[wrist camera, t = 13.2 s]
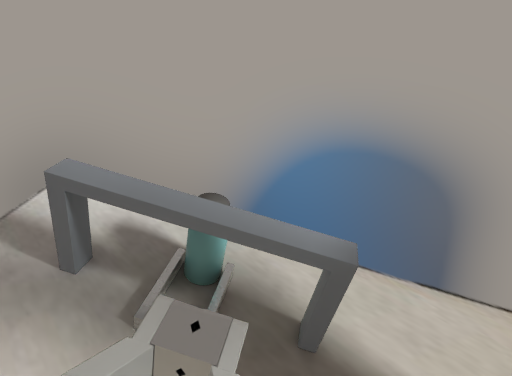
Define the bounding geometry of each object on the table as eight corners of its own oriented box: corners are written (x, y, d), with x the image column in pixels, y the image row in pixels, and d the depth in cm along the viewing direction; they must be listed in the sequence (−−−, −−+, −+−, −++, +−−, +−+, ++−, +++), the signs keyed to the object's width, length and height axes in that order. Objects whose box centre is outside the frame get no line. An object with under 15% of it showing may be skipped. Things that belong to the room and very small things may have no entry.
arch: (316, 328, 49) (356, 243, 40) (315, 353, 46) (358, 266, 37) (78, 251, 53) (66, 158, 44) (60, 269, 49) (43, 171, 41)
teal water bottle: (225, 263, 57) (238, 197, 49) (213, 289, 51) (227, 220, 44) (192, 253, 57) (200, 186, 50) (177, 278, 52) (184, 207, 45)
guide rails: (232, 275, 55) (234, 264, 54) (202, 351, 43) (204, 340, 42) (177, 258, 56) (178, 247, 54) (133, 328, 44) (133, 316, 43)
